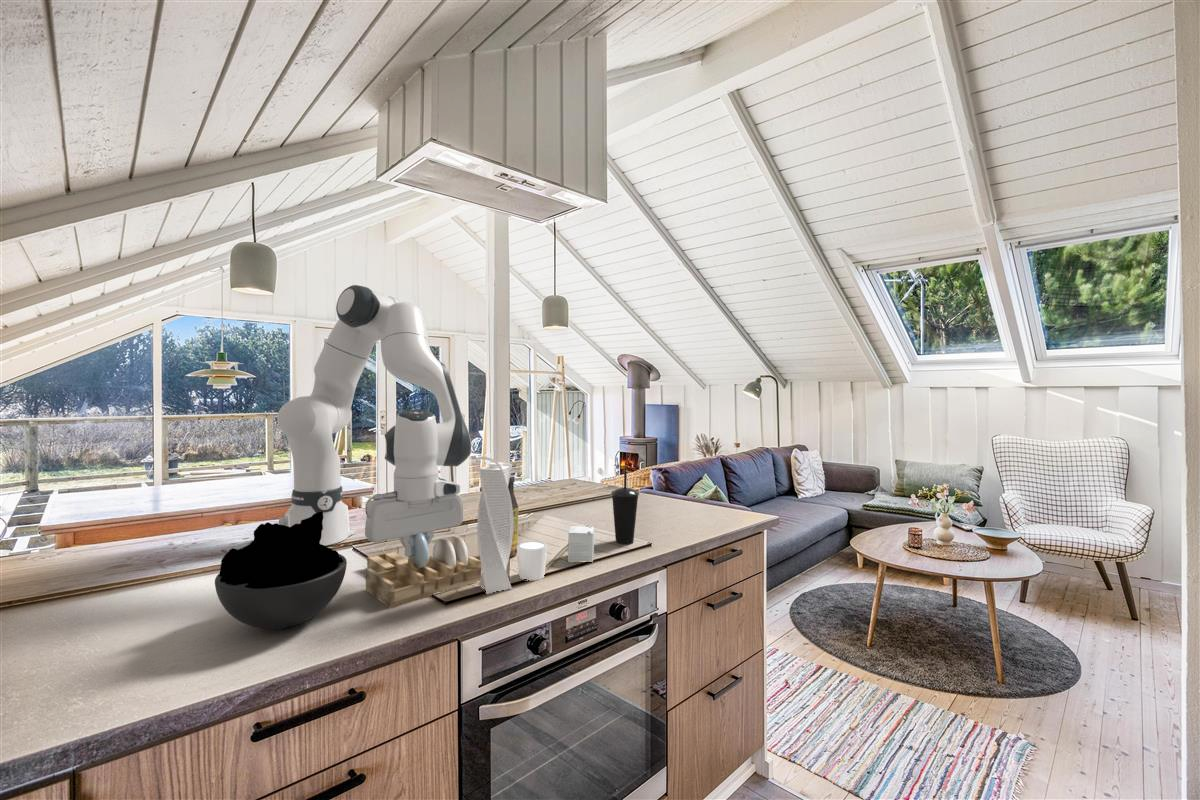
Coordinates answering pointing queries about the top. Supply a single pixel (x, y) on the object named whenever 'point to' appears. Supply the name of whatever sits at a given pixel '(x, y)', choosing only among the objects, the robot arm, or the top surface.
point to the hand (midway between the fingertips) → (416, 554)
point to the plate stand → (384, 561)
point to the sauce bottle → (515, 517)
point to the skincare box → (580, 544)
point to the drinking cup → (624, 512)
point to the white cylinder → (532, 559)
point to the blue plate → (419, 550)
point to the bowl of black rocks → (280, 575)
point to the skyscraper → (495, 525)
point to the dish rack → (426, 574)
